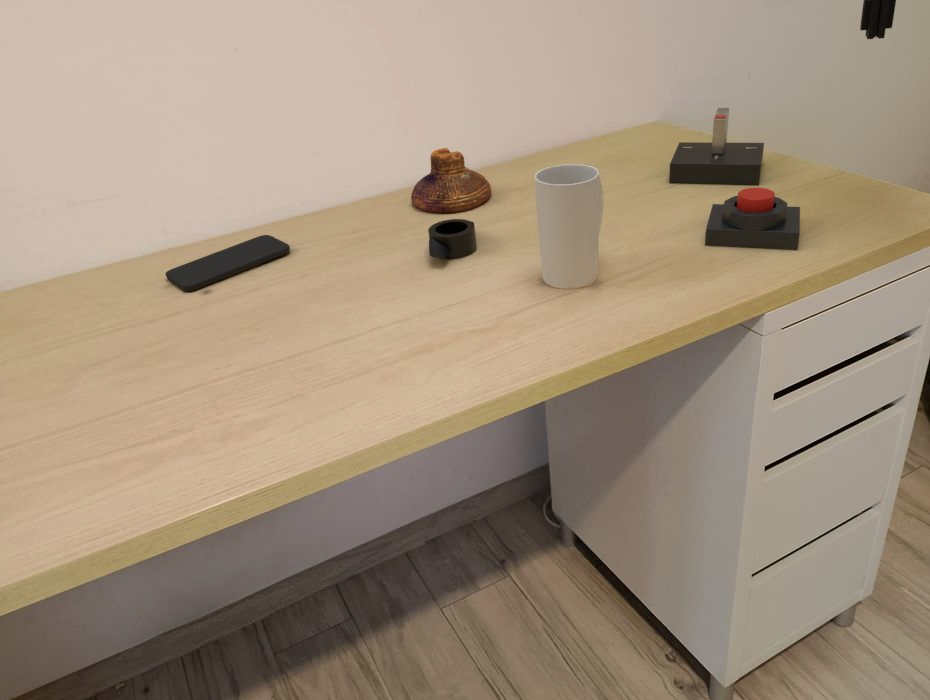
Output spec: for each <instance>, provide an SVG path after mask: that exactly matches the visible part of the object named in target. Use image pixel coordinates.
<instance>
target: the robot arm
mask: <svg viewBox="0 0 930 700" xmlns="http://www.w3.org/2000/svg"><path fill="white" fill-rule="evenodd" d="M896 5H897V0H863V2H862V10H861V16H860V17H861V18H860V26H859V30H860V31H865V37H866V39H867V40H874V38H877V39H885V35H886V31H887V30H886V29H892V28H893V23H894V19H895V18H894V17H895V10H896Z"/></svg>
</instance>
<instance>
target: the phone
mask: <svg viewBox="0 0 930 700" xmlns="http://www.w3.org/2000/svg"><path fill="white" fill-rule="evenodd" d="M290 251H291V247H290V244H288V243H287V242H284V241H282V240H281V239H278V238H276V237H274V236H272V235H271V234H270V235H269V234H263V235H259V236H256V237H253V238H250V239H248V240H245V241H243V242H240V243H238V244H234V245H232V246H229V247H227V248H226V247H225V248H224V249H221V250H219V251H215V252H213V253H211V254H208V255H205V256H202V257H199V258H197V259H195V260H192V261H189V262H187V263H183V264H181V265H178V266H176V267H173V268H171V269H168V270H167V271H166V272H165V277H166V279H167V280H168V282H170V283H171V284H174V286H175V287H178V288H179V289H180V290H182V291H184V292H191V291H195V290H198V289H200V288H203V287H206V286H209V285H211V284H213V283H216V282H218V281H221V280H224V279H226V278H228V277H231V276H233V275H236V274H239V273H241V272H245V271H246V270H248V269H252V268H253V267H256V266H258V265H261V264H264V263H266V262H268V261H272V260H273V259H276V258H279V257H281V256H284V255H286V254H288V253H289V252H290Z"/></svg>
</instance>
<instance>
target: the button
mask: <svg viewBox="0 0 930 700" xmlns="http://www.w3.org/2000/svg"><path fill="white" fill-rule="evenodd" d="M737 196H738V197H737V208H738V209H739V210H743V211H747V212H764V211H770V210H772V209H773V206H774V198H775V197H776V194H775V192H774V191H773V190H771V189H769V188H764V187H747V188H743V189H741V190H739V191H738V192H737Z"/></svg>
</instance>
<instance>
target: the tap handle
mask: <svg viewBox="0 0 930 700" xmlns="http://www.w3.org/2000/svg"><path fill="white" fill-rule="evenodd" d="M729 117H730V107H717V110H716V112H715V115H714V118H713V123H712V124H713V126H712V138H711V139H712V140H711V143H712V152H711V154H716V155H723V153H724V149H725V146H726V143H728V142H727V141H728V130H729V119H730V118H729Z"/></svg>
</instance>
